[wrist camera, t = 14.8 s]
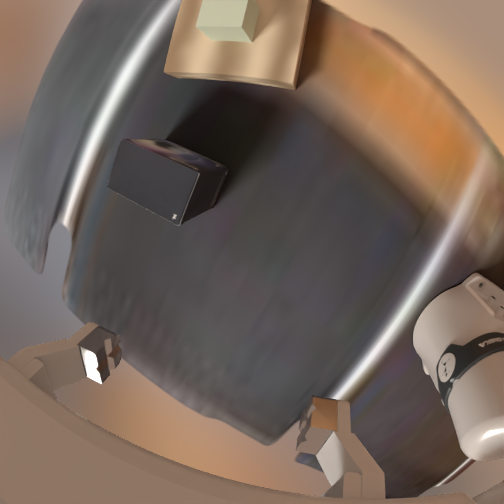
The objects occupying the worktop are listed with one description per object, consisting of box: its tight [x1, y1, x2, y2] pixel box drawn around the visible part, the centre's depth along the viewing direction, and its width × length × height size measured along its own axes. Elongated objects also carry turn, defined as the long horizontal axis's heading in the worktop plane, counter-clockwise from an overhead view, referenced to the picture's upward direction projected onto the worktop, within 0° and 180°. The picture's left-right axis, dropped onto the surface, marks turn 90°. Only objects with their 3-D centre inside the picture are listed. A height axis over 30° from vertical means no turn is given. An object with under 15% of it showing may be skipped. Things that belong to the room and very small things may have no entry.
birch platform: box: [164, 0, 312, 90], centre depth 29 cm, size 16×14×4 cm
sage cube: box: [196, 0, 260, 43], centre depth 24 cm, size 5×5×5 cm
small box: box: [107, 139, 229, 226], centre depth 34 cm, size 11×6×10 cm, turn 66°
